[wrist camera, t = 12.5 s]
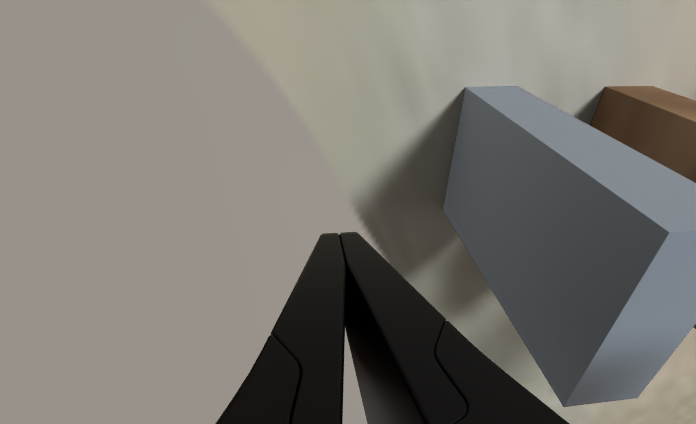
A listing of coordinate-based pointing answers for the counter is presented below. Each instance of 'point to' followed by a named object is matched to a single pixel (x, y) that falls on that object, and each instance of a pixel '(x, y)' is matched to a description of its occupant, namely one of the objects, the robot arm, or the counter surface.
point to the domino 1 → (574, 242)
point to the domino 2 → (651, 125)
